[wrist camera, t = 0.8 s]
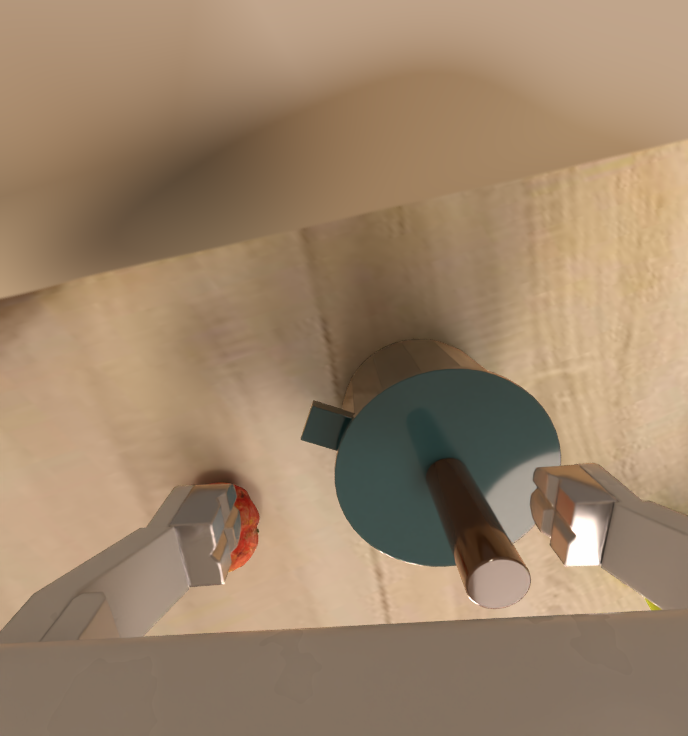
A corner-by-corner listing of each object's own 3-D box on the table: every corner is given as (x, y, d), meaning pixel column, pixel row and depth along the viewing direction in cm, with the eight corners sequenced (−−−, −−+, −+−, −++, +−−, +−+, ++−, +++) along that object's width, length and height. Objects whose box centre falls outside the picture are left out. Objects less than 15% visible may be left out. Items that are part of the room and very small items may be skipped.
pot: (340, 307, 29) (338, 329, 20) (542, 376, 30) (626, 425, 21) (295, 441, 32) (276, 512, 23) (479, 496, 34) (529, 584, 25)
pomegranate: (283, 482, 36) (207, 456, 28) (294, 563, 32) (208, 557, 24) (224, 509, 38) (138, 491, 30) (228, 589, 33) (128, 592, 26)
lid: (378, 331, 20) (402, 381, 12) (590, 403, 22) (745, 493, 13) (307, 521, 24) (289, 661, 16) (493, 574, 25) (567, 729, 17)
